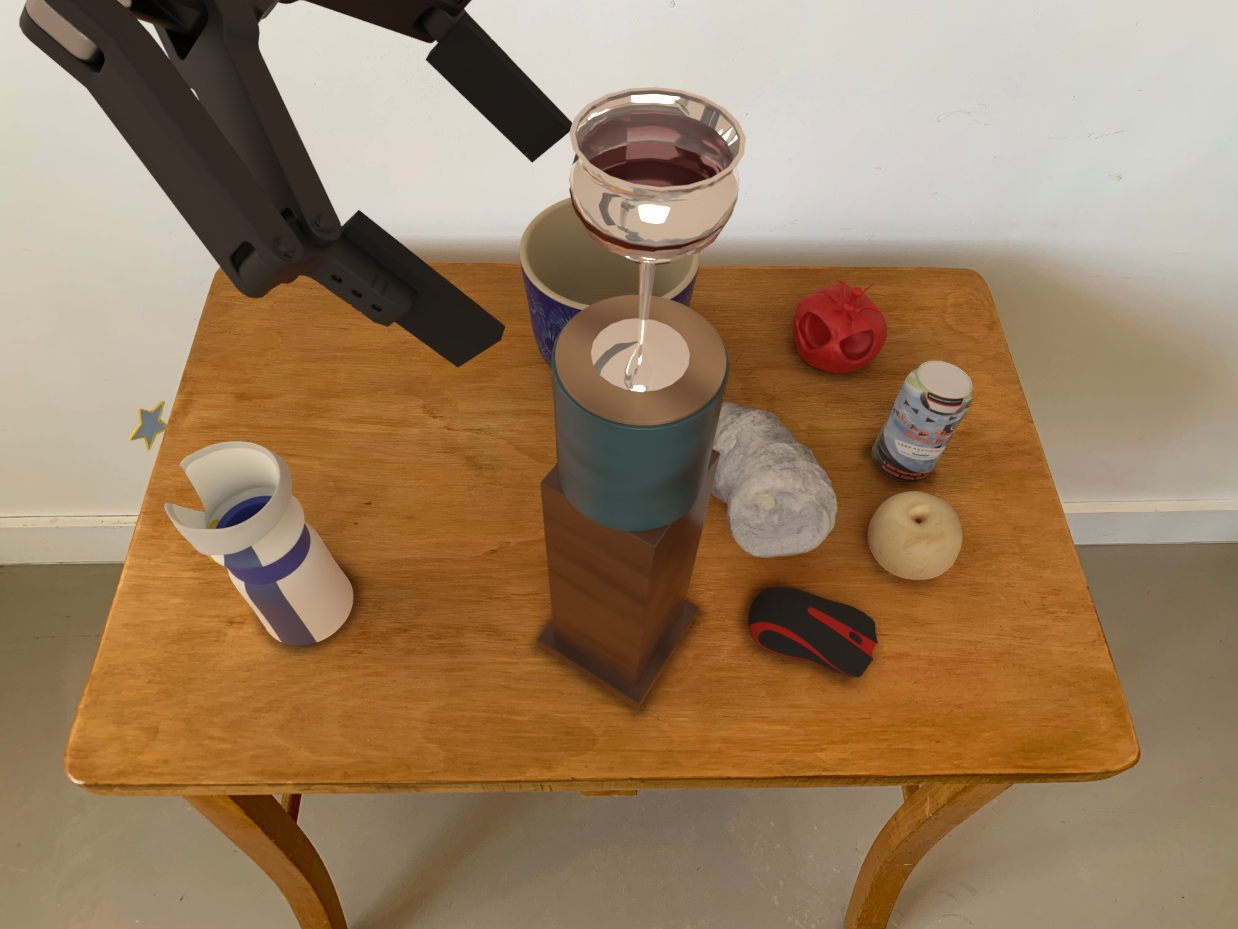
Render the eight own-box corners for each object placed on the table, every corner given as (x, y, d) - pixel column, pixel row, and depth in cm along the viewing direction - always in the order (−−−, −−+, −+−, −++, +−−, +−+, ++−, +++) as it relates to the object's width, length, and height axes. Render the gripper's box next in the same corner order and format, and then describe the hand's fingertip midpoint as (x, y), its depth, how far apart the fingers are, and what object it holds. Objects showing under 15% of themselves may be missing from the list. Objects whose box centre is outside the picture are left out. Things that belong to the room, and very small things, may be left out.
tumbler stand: (637, 710, 64) (677, 468, 36) (537, 646, 67) (500, 374, 39) (697, 615, 69) (774, 334, 41) (601, 559, 72) (611, 260, 43)
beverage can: (864, 480, 78) (904, 404, 68) (873, 425, 82) (911, 345, 72) (928, 497, 77) (978, 422, 67) (934, 440, 81) (981, 361, 71)
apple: (967, 585, 71) (963, 571, 65) (875, 585, 75) (862, 572, 68) (961, 501, 74) (957, 479, 67) (872, 505, 77) (860, 485, 70)
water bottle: (245, 653, 66) (90, 492, 46) (269, 562, 71) (139, 379, 50) (344, 653, 66) (235, 493, 46) (362, 562, 71) (270, 380, 51)
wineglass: (712, 407, 38) (756, 193, 28) (570, 405, 38) (564, 189, 28) (703, 306, 42) (738, 88, 32) (574, 304, 41) (570, 83, 32)
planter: (497, 352, 86) (482, 240, 74) (612, 282, 93) (616, 169, 81) (600, 447, 79) (602, 341, 67) (716, 364, 86) (738, 254, 74)
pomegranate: (802, 307, 92) (821, 243, 84) (885, 336, 90) (913, 273, 82) (773, 364, 87) (791, 301, 79) (861, 396, 84) (888, 335, 77)
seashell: (652, 432, 81) (659, 366, 72) (792, 426, 82) (815, 361, 74) (669, 573, 72) (680, 516, 63) (827, 565, 73) (858, 508, 64)
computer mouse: (862, 690, 66) (876, 673, 63) (738, 639, 68) (746, 620, 65) (878, 625, 69) (893, 606, 66) (760, 579, 72) (768, 558, 68)
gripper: (144, -262, 32) (527, 121, 44) (-391, 51, 18) (381, 496, 30) (218, -450, 28) (625, 34, 39) (-425, -224, 13) (508, 431, 25)
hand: (521, 234), depth 34 cm, fingers open, 13 cm apart
